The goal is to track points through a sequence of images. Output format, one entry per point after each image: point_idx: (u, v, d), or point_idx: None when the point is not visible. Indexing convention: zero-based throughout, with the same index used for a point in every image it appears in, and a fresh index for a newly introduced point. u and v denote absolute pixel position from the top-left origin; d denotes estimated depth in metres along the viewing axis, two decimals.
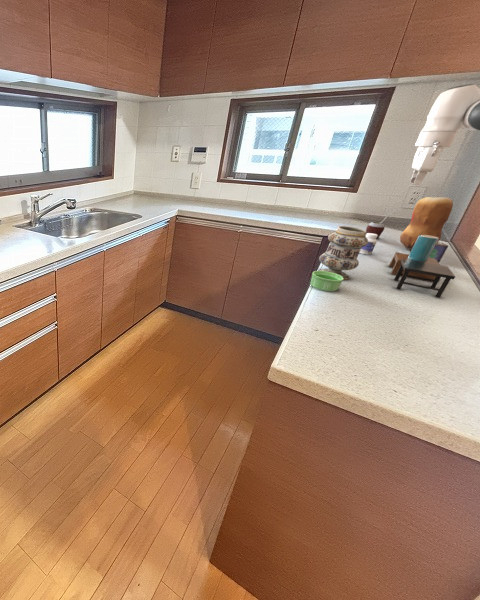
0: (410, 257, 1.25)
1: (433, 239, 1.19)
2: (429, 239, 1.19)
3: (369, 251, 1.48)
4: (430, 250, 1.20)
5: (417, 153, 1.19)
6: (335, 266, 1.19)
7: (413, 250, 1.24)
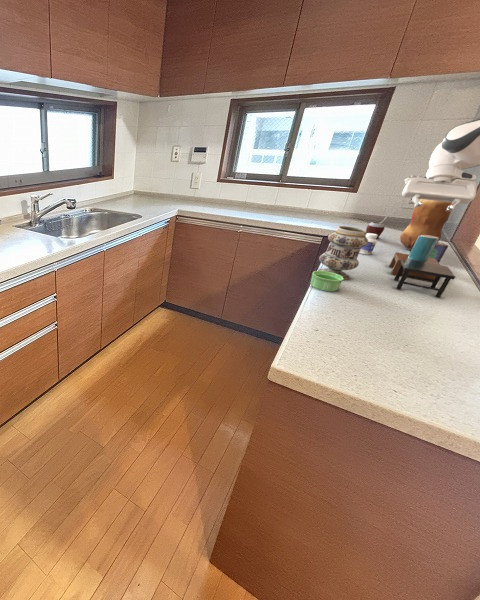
0: (410, 257, 1.25)
1: (433, 239, 1.19)
2: (429, 239, 1.19)
3: (369, 251, 1.48)
4: (430, 250, 1.20)
5: None
6: (335, 266, 1.19)
7: (413, 250, 1.24)
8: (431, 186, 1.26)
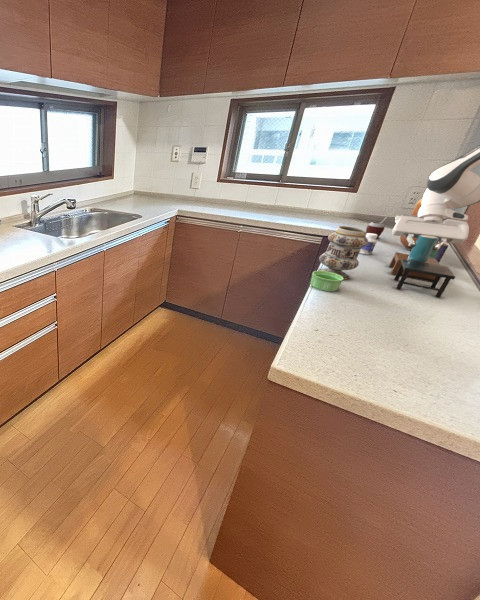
0: (410, 257, 1.25)
1: (433, 239, 1.19)
2: (429, 239, 1.19)
3: (369, 251, 1.48)
4: (430, 250, 1.20)
5: None
6: (335, 266, 1.19)
7: (413, 250, 1.24)
8: (421, 225, 1.24)
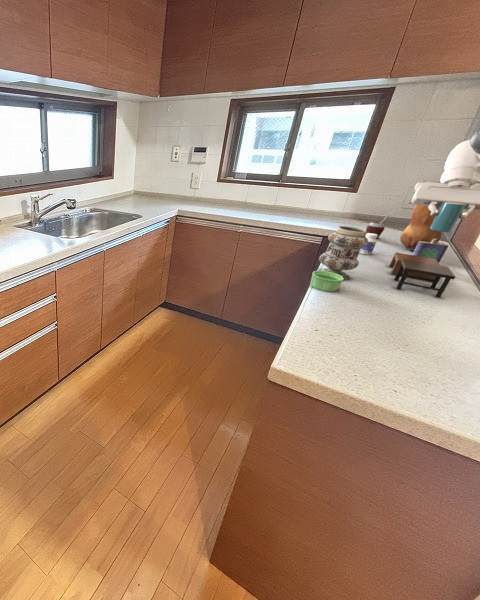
0: (432, 227, 1.11)
1: (460, 205, 1.05)
2: (455, 206, 1.05)
3: (369, 251, 1.48)
4: (456, 218, 1.07)
5: None
6: (335, 266, 1.19)
7: (436, 219, 1.10)
8: (445, 191, 1.10)
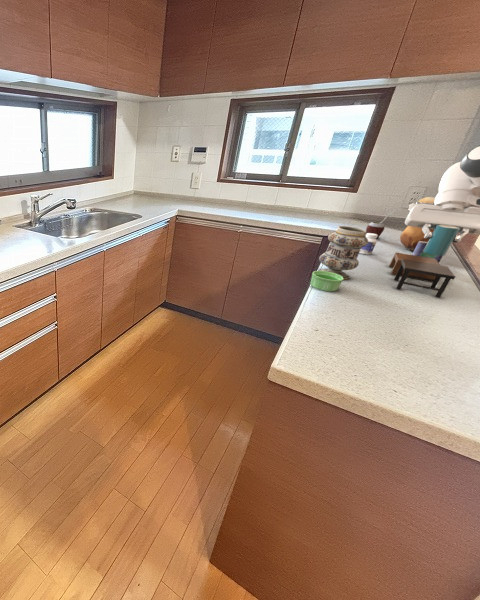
0: (426, 250, 1.09)
1: (454, 229, 1.03)
2: (449, 229, 1.03)
3: (369, 251, 1.48)
4: (450, 242, 1.05)
5: None
6: (335, 266, 1.19)
7: (430, 242, 1.08)
8: (439, 214, 1.08)
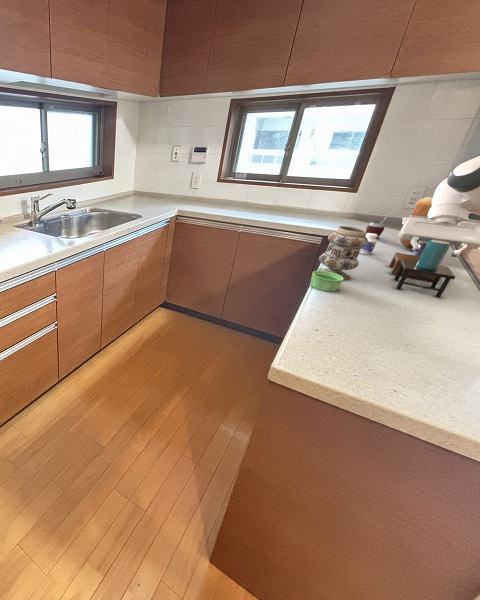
0: (419, 265, 1.11)
1: (445, 245, 1.05)
2: (441, 245, 1.05)
3: (369, 251, 1.48)
4: (442, 257, 1.07)
5: None
6: (335, 266, 1.19)
7: (422, 257, 1.10)
8: (432, 228, 1.10)
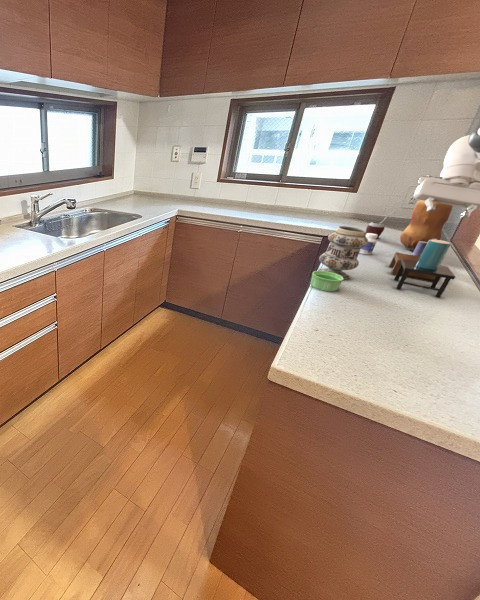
0: (419, 265, 1.11)
1: (445, 245, 1.05)
2: (441, 245, 1.05)
3: (369, 251, 1.48)
4: (442, 257, 1.07)
5: None
6: (335, 266, 1.19)
7: (422, 257, 1.10)
8: (447, 189, 1.13)
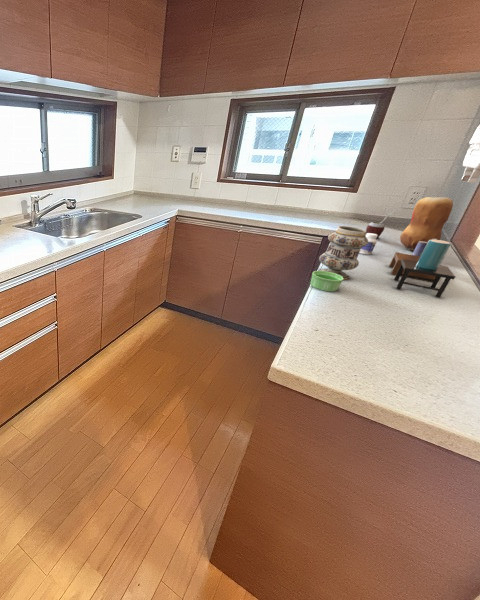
0: (419, 265, 1.11)
1: (445, 245, 1.05)
2: (441, 245, 1.05)
3: (369, 251, 1.48)
4: (442, 257, 1.07)
5: (469, 151, 1.18)
6: (335, 266, 1.19)
7: (422, 257, 1.10)
8: None
